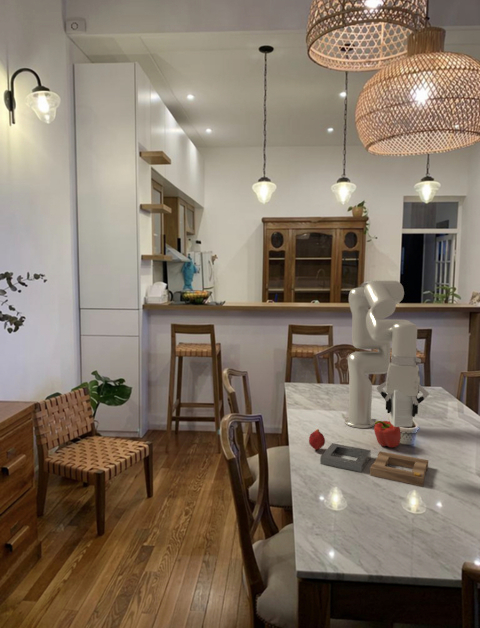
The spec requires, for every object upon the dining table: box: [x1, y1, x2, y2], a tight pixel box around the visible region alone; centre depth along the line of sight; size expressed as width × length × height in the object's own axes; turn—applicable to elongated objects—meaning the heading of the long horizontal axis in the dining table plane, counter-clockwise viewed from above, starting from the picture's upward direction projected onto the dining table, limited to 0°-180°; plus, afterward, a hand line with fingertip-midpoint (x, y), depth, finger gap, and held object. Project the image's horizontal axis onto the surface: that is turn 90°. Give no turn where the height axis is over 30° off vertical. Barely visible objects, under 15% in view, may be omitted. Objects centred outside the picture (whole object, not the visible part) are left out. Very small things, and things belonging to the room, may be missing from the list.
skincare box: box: [389, 390, 414, 428], centre depth 148 cm, size 6×4×12 cm
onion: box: [308, 428, 326, 451], centre depth 167 cm, size 6×6×8 cm
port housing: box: [369, 451, 429, 487], centre depth 149 cm, size 16×16×3 cm
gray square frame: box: [319, 442, 372, 473], centre depth 158 cm, size 14×14×2 cm
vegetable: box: [373, 420, 402, 448], centre depth 171 cm, size 11×10×10 cm
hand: (401, 413), depth 148 cm, fingers closed on skincare box, 7 cm apart
